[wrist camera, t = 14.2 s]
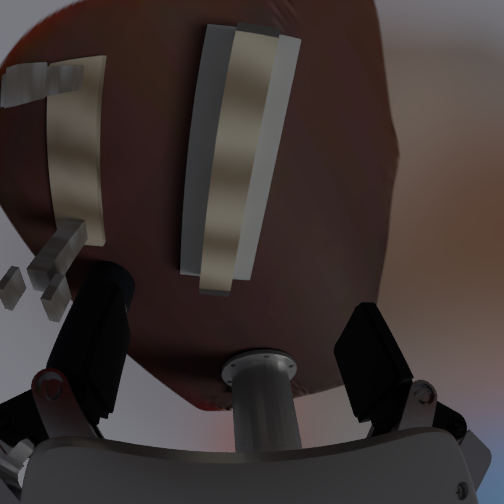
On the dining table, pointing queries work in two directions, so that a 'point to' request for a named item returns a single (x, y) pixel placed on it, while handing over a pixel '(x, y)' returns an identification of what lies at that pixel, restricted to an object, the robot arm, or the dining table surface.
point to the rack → (62, 170)
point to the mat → (205, 140)
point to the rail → (235, 152)
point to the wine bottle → (85, 297)
